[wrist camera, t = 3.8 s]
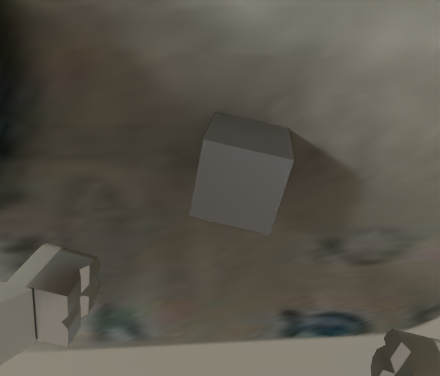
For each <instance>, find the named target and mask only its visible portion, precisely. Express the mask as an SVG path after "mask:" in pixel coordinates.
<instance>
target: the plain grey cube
mask: <svg viewBox="0 0 440 376" xmlns="http://www.w3.org/2000/svg"><path fill="white" fill-rule="evenodd" d="M293 163H294V156H293V150H292V144H291V138H290V132H289V129H288V128H284V127H280V126H275V125H271V124H267V123H262V122H258V121H254V120H249V119H245V118H241V117H236V116H232V115H228V114H223V113H219V112H215V115H214V117H213V119H212V121H211V123H210V125H209V128H208V130H207V132H206V134H205V136H204V139H203V143H202V148H201V153H200V159H199V164H198V169H197V175H196V180H195V185H194V191H193V196H192V201H191V206H190V212H189V216H190V217H194V218H198V219H202V220H207V221H211V222H215V223H220V224H224V225H228V226H232V227H237V228H241V229H245V230H250V231H254V232H258V233H263V234H267V235H270V233H271V230H272V227H273V224H274V221H275V218H276V215H277V212H278V209H279V206H280V203H281V200H282V197H283V193H284V190H285V187H286V184H287V181H288V178H289V175H290V172H291V169H292V166H293Z"/></svg>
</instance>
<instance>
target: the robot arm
mask: <svg viewBox="0 0 440 376" xmlns="http://www.w3.org/2000/svg"><path fill="white" fill-rule="evenodd" d="M99 268H100V259H99V258H98V257H96V256H93V255H89V254H85V253H82V252H78V251H74V250H71V249H67V248H61V247H58V246H54V245H51V244H47V243H46V244H44V245H42V246H40V247H39V248H38V249H37V250H36V251H35V252H34V254H33V255H32V256H31V257H30V258H29V259H28V260H27V261H26V262H25V263H24V264H23V265H22V266H21V267H20V268H19V269H18V270H17V271H16V272H15V273H14V274H13V275H12V276H11V277H10V278H9V279H8V281H7V282H2V281H0V365H1V364H3V363H5V362H6V361H8V360H9V359H11V358H12V357H14V356H15V355H17V354H18V353H20V352H21V351H23V350H24V349H26V348H27V347H29V346H31V345H32V344H34V343H35V342H36V340H38V341H43V342H47V343H52V344H56V345H61V346H65V347H68V346H69V345H70V343H71V341H72V340H73V338H74V336H75V335H76V333H77V332H78V330H79V328H80V326H81V317H83V316H85V315H86V314H88V313H89V311H90V310H91V308H92V306H93V304H94V301H95V299H96V296H97V293H98V288H99V279H98V278H97V276H96V273H97V271H98V270H99ZM384 340H385V343H386V345H385V346H383V347H380V348H379V349H377V350H376V352H375V354H374V356H373V359H372V364H371V376H440V340H438V339H433V338H428V337H424V336H419V335H416V334H411V333H407V332H403V331H399V330H394V329H392V330H390V331H388V332H387V334H386V335H385V337H384Z"/></svg>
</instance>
